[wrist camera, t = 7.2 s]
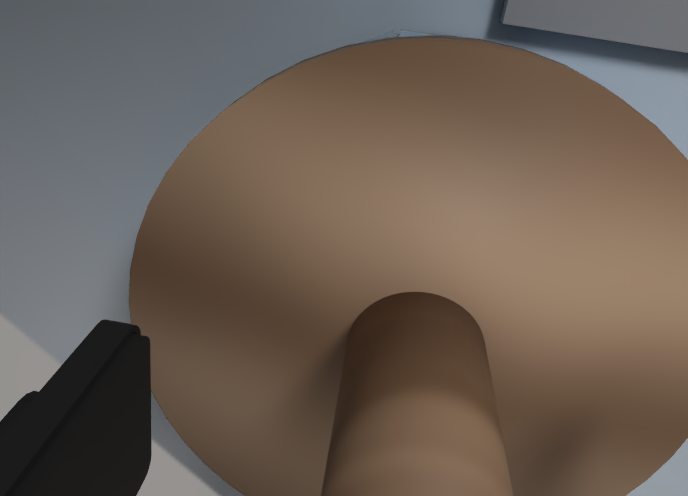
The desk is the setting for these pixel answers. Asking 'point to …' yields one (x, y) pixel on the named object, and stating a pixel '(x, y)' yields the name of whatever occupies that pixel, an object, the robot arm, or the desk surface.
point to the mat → (607, 20)
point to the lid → (422, 280)
